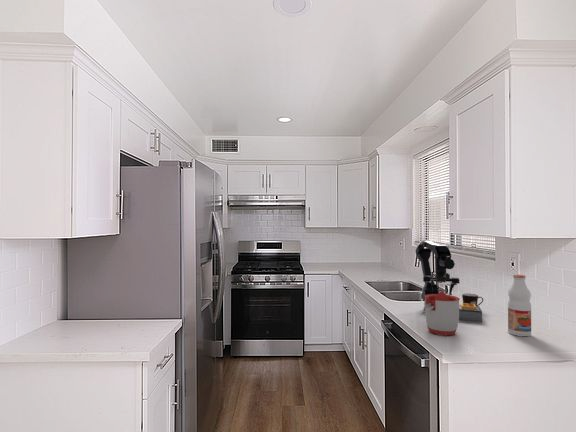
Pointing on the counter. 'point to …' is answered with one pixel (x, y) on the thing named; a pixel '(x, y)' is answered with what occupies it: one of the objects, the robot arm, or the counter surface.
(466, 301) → the coffee mug
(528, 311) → the fruit juice
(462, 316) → the grey square box
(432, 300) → the citrus juicer
